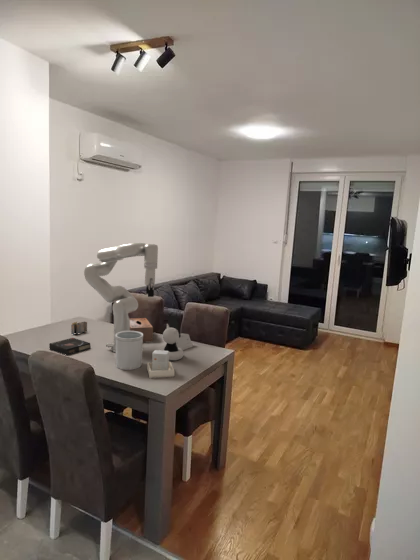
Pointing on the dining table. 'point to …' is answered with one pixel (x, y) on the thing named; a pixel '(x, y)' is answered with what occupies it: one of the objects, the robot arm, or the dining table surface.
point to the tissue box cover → (142, 328)
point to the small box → (160, 360)
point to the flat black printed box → (69, 346)
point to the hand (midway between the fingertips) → (149, 295)
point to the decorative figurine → (172, 343)
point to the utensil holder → (129, 349)
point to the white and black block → (184, 342)
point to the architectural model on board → (78, 327)
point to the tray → (160, 372)
